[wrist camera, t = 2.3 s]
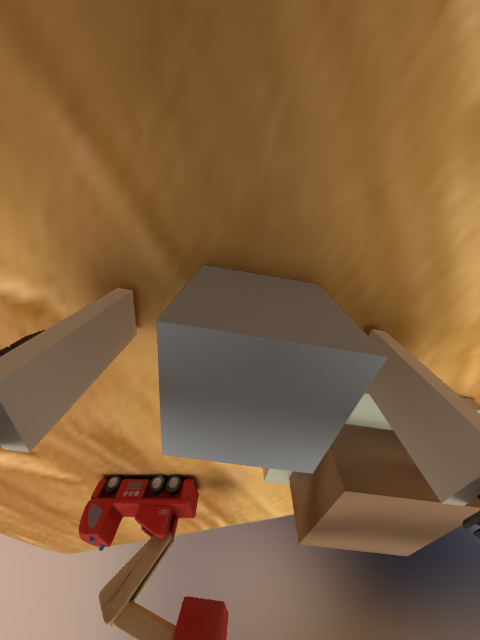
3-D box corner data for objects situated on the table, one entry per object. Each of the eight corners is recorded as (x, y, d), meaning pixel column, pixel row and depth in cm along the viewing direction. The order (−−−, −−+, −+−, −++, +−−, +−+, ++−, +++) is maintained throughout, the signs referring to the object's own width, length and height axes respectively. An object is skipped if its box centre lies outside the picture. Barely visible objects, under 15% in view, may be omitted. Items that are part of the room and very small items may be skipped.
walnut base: (320, 420, 14) (345, 491, 10) (430, 435, 14) (489, 508, 11) (288, 478, 18) (299, 544, 14) (376, 489, 18) (407, 556, 15)
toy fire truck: (98, 473, 21) (-6, 656, 12) (232, 473, 20) (219, 671, 11) (110, 489, 22) (25, 661, 14) (234, 490, 21) (226, 674, 13)
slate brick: (203, 264, 10) (156, 321, 5) (318, 283, 11) (388, 357, 5) (196, 356, 13) (162, 454, 8) (287, 370, 13) (312, 473, 8)
